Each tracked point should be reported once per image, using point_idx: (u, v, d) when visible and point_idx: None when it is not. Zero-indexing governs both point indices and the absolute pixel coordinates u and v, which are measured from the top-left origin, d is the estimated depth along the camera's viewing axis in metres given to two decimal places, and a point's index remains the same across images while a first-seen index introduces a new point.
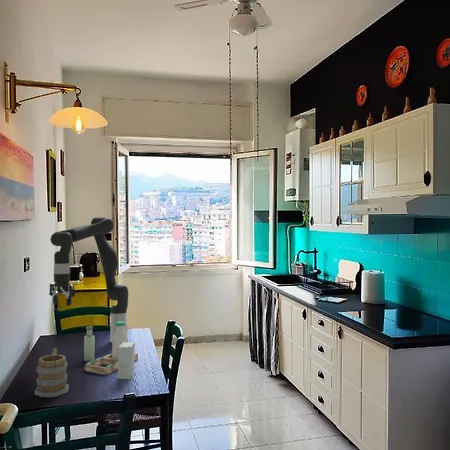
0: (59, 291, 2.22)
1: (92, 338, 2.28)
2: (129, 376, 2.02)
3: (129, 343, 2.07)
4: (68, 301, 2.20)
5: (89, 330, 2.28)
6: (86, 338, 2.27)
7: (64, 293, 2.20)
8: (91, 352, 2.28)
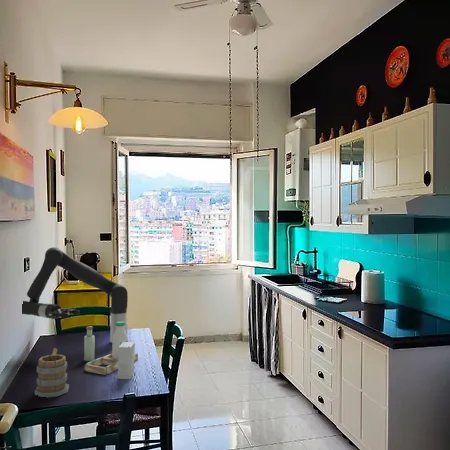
0: None
1: (92, 338, 2.28)
2: (129, 376, 2.02)
3: (129, 343, 2.07)
4: (63, 317, 2.30)
5: (89, 330, 2.28)
6: (86, 338, 2.27)
7: None
8: (91, 352, 2.28)
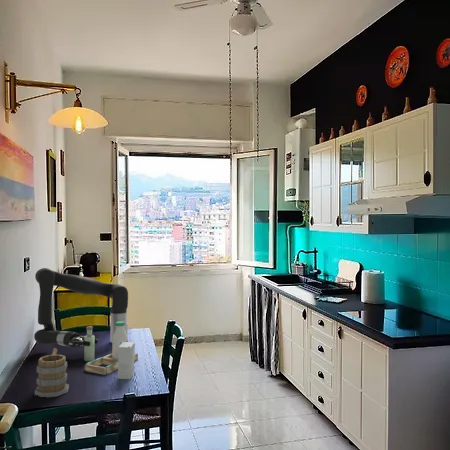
0: None
1: (92, 338, 2.28)
2: (129, 376, 2.02)
3: (129, 343, 2.07)
4: (85, 345, 2.26)
5: (89, 330, 2.28)
6: (86, 338, 2.27)
7: (80, 345, 2.29)
8: (91, 352, 2.28)
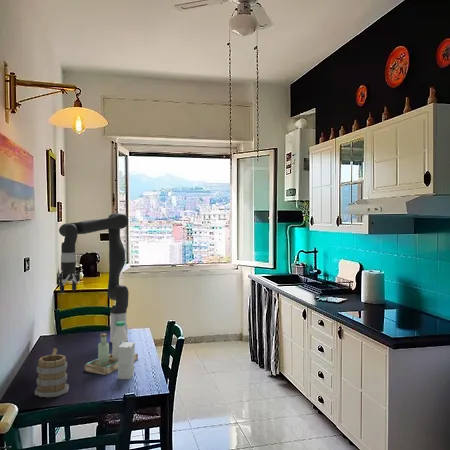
0: None
1: (106, 346, 2.14)
2: (129, 376, 2.02)
3: (129, 343, 2.07)
4: (60, 288, 2.36)
5: (103, 337, 2.14)
6: (100, 346, 2.13)
7: None
8: (106, 361, 2.14)
